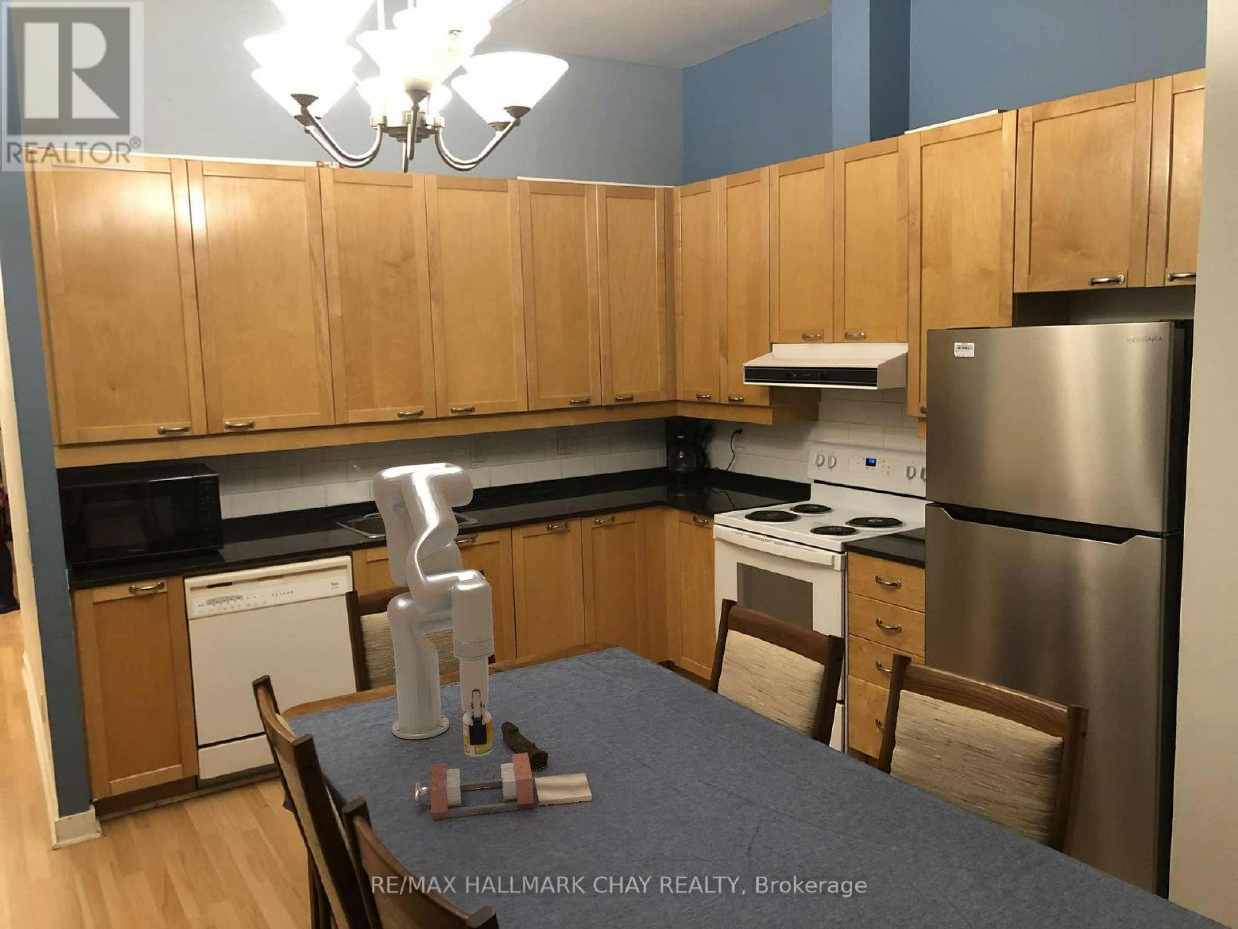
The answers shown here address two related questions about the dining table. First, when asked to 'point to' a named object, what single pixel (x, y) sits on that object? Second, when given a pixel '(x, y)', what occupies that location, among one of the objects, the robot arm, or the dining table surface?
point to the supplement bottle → (469, 749)
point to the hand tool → (523, 746)
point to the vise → (449, 788)
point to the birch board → (562, 789)
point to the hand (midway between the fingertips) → (477, 736)
